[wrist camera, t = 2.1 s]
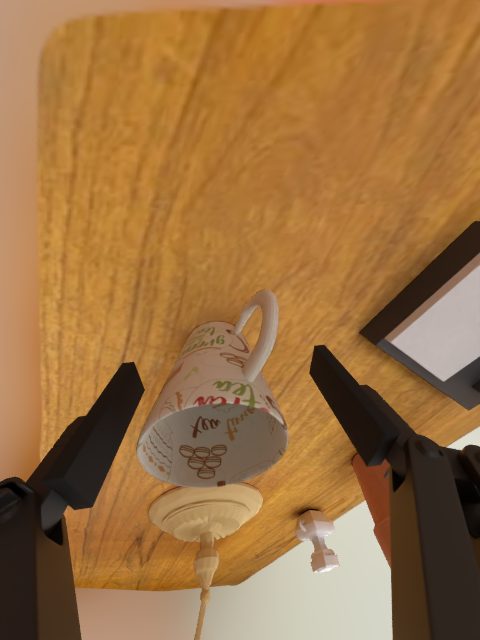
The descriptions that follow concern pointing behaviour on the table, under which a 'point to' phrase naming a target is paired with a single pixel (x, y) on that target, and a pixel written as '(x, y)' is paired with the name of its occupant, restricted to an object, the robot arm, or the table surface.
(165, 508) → the desk lamp
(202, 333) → the mug
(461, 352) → the scale
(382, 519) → the potted plant
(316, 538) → the stamp
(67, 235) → the table surface
